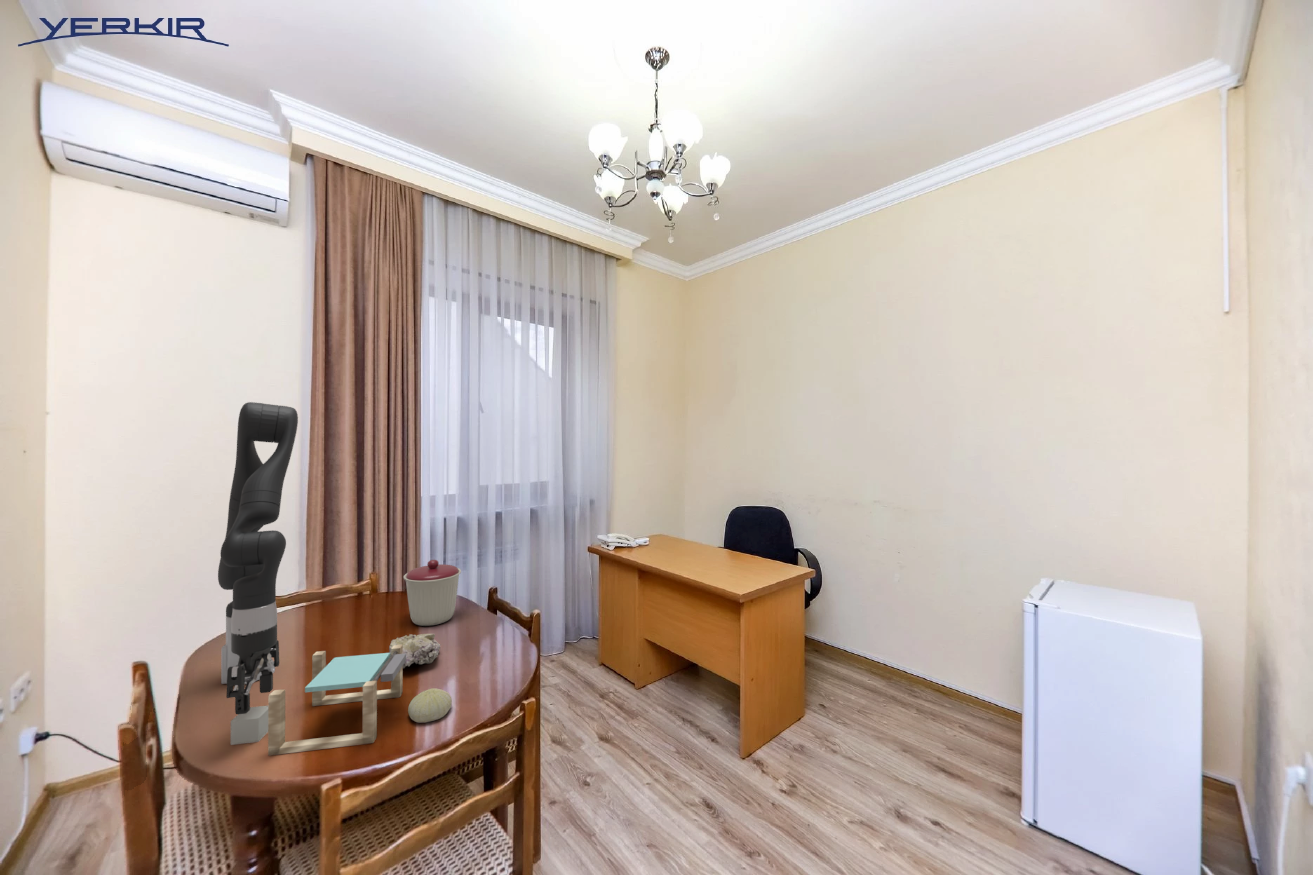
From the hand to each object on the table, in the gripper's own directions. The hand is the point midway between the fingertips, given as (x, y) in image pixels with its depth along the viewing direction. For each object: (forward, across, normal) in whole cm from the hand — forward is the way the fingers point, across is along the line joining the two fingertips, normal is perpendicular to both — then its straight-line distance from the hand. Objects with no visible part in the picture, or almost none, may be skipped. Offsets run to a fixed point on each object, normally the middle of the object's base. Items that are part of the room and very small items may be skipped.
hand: (254, 701), depth 102 cm
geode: (+7, -29, +25) cm, 39 cm away
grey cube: (+7, 0, -1) cm, 7 cm away
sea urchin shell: (+8, -1, +34) cm, 35 cm away
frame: (+7, -2, +16) cm, 18 cm away
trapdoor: (-3, -2, +20) cm, 20 cm away
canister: (+7, -61, +22) cm, 65 cm away
